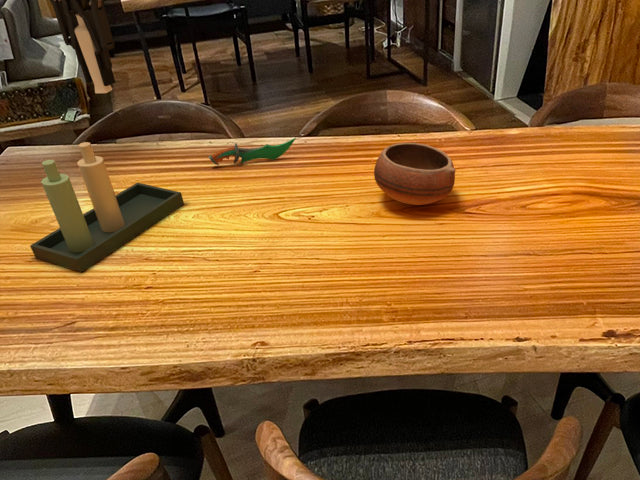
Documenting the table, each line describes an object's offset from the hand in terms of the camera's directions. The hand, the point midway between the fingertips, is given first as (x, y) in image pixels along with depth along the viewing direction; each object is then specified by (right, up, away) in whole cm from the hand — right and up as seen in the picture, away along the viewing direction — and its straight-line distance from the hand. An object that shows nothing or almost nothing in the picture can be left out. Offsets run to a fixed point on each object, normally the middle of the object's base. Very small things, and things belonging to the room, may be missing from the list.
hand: (100, 82), depth 137 cm
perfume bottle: (0, -1, +1) cm, 2 cm away
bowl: (+68, -29, -12) cm, 75 cm away
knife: (+33, -16, +4) cm, 37 cm away
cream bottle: (+10, -36, -17) cm, 41 cm away
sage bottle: (+7, -41, -23) cm, 47 cm away
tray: (+10, -36, -17) cm, 41 cm away
